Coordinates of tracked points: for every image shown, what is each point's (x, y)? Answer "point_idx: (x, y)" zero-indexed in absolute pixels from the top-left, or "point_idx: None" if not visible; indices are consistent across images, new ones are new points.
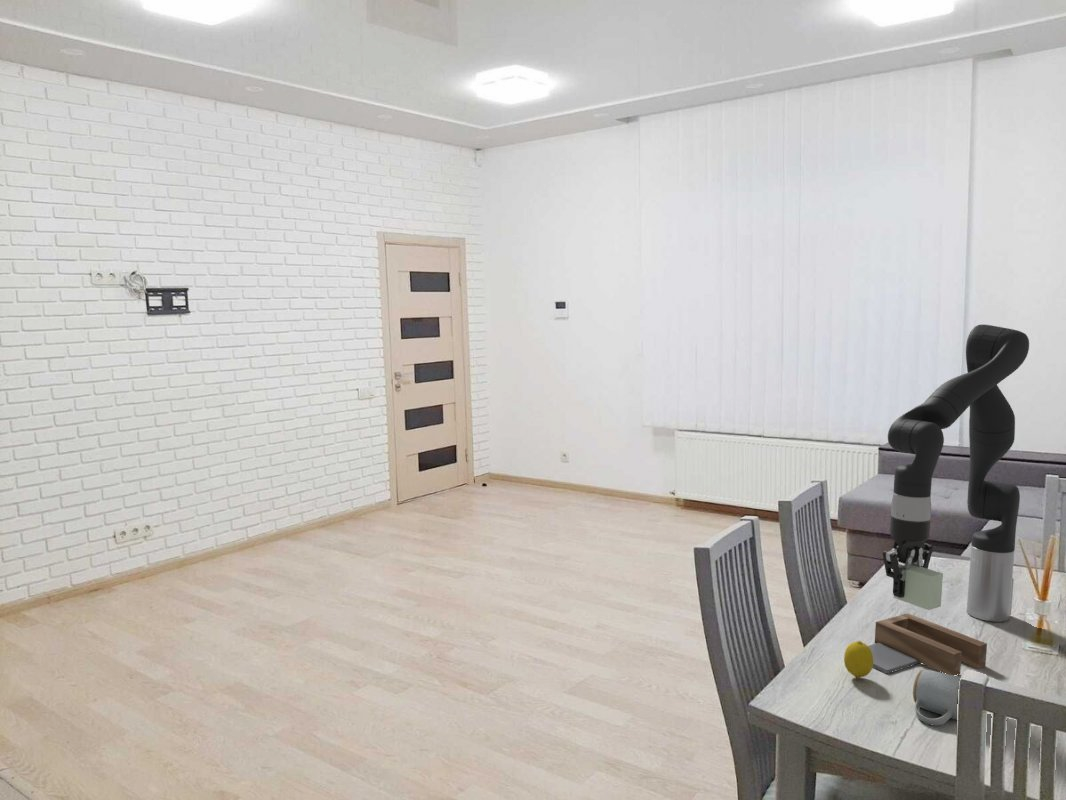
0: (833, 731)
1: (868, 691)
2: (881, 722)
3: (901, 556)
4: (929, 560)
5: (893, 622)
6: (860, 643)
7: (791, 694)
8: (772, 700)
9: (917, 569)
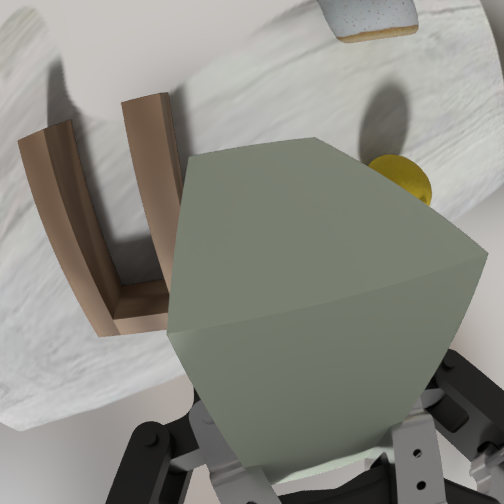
0: (498, 82)
1: (397, 124)
2: (449, 49)
3: (464, 488)
4: (113, 495)
5: (165, 312)
6: (424, 199)
7: (476, 179)
8: (495, 178)
9: (345, 433)
